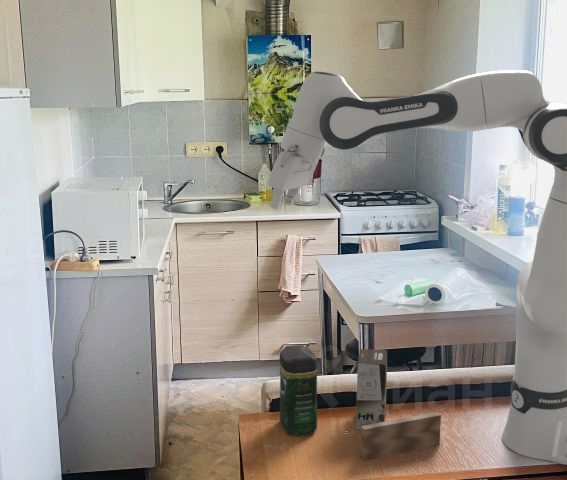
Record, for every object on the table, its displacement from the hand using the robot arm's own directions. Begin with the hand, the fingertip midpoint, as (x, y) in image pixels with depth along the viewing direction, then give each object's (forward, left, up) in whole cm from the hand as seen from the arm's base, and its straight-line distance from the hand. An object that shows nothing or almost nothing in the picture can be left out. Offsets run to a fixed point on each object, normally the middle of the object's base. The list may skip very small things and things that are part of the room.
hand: (281, 205), depth 149 cm
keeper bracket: (-18, +21, -50) cm, 57 cm away
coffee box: (-18, +9, -50) cm, 54 cm away
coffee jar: (-2, +6, -50) cm, 51 cm away
